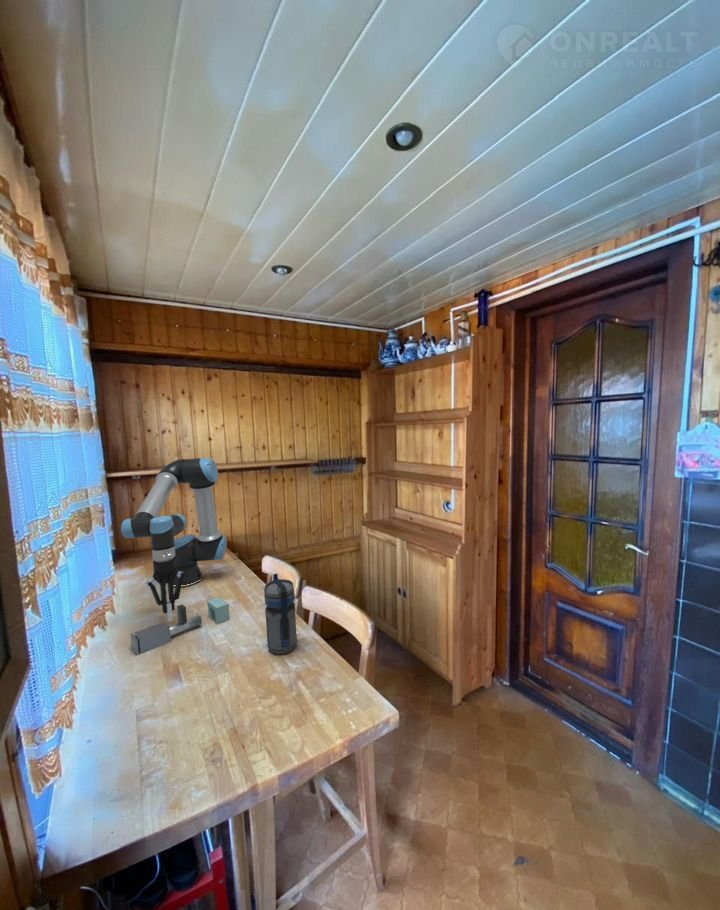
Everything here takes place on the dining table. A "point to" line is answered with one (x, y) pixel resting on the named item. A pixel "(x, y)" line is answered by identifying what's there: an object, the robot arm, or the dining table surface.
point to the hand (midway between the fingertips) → (169, 619)
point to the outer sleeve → (150, 638)
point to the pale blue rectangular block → (218, 610)
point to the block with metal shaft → (183, 622)
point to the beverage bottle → (280, 615)
